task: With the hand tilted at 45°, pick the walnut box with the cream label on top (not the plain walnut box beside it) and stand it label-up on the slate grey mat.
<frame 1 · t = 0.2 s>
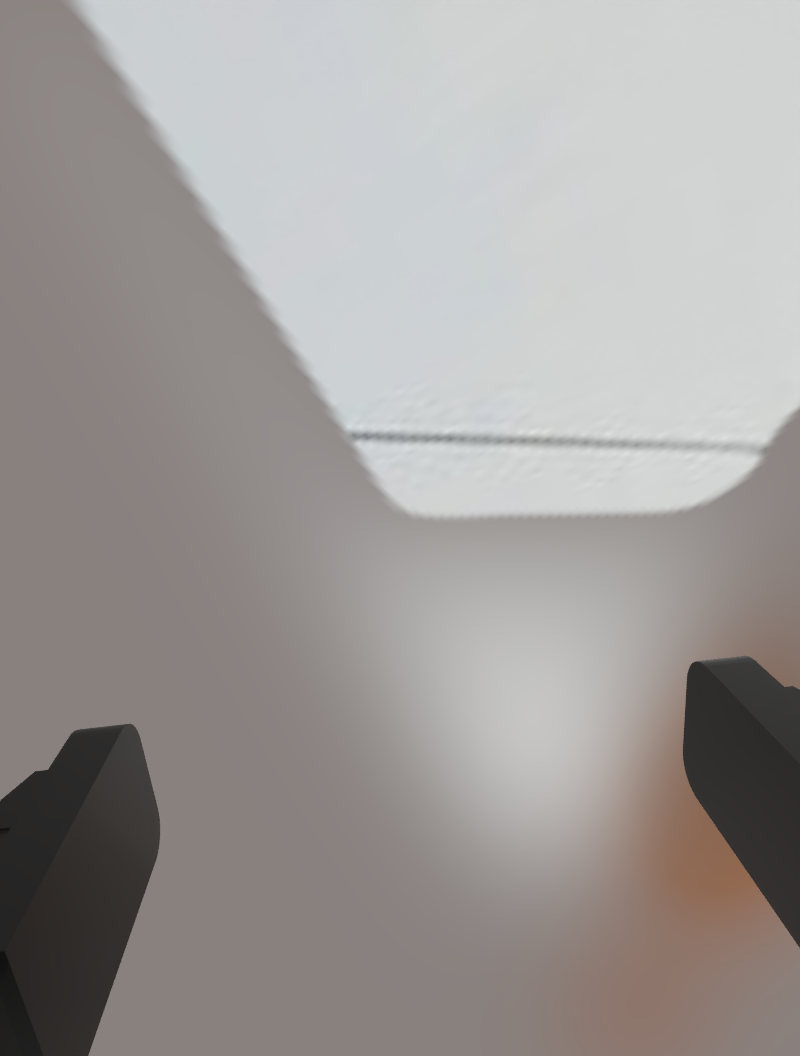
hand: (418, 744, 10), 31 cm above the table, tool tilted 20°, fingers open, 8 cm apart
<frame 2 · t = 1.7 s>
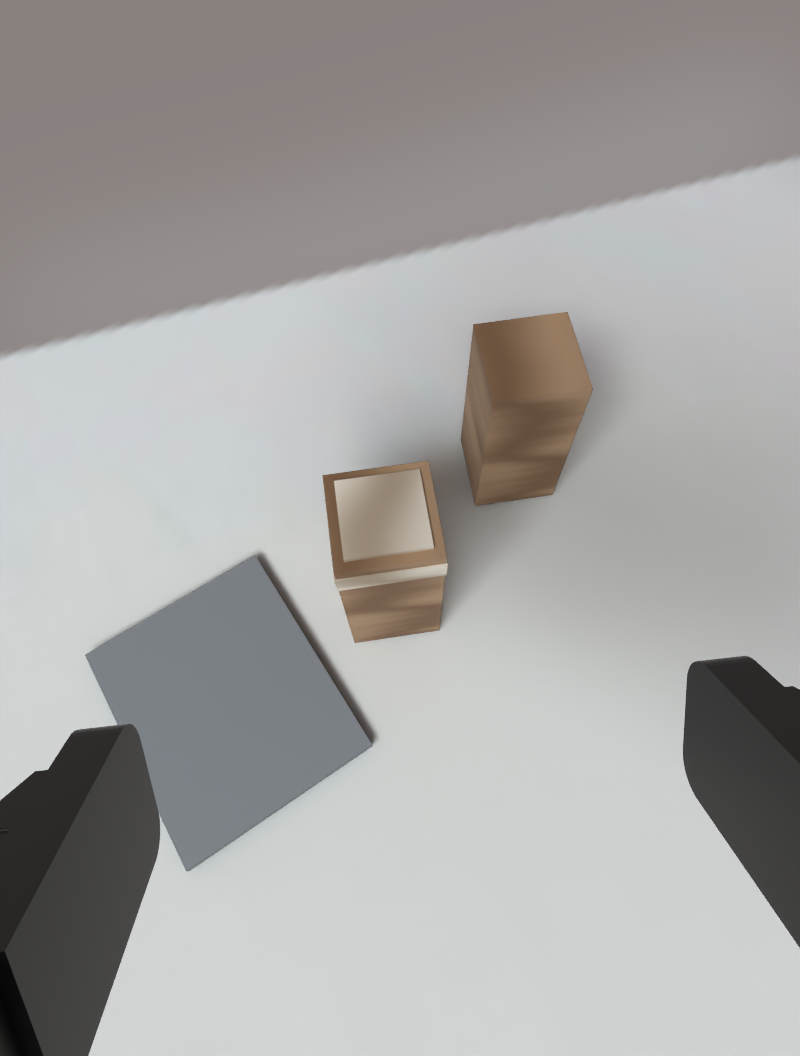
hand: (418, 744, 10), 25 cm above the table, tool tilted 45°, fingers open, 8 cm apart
slate mat: (226, 700, 35), on the table
label box: (391, 596, 37), on the table
plain box: (505, 466, 40), on the table
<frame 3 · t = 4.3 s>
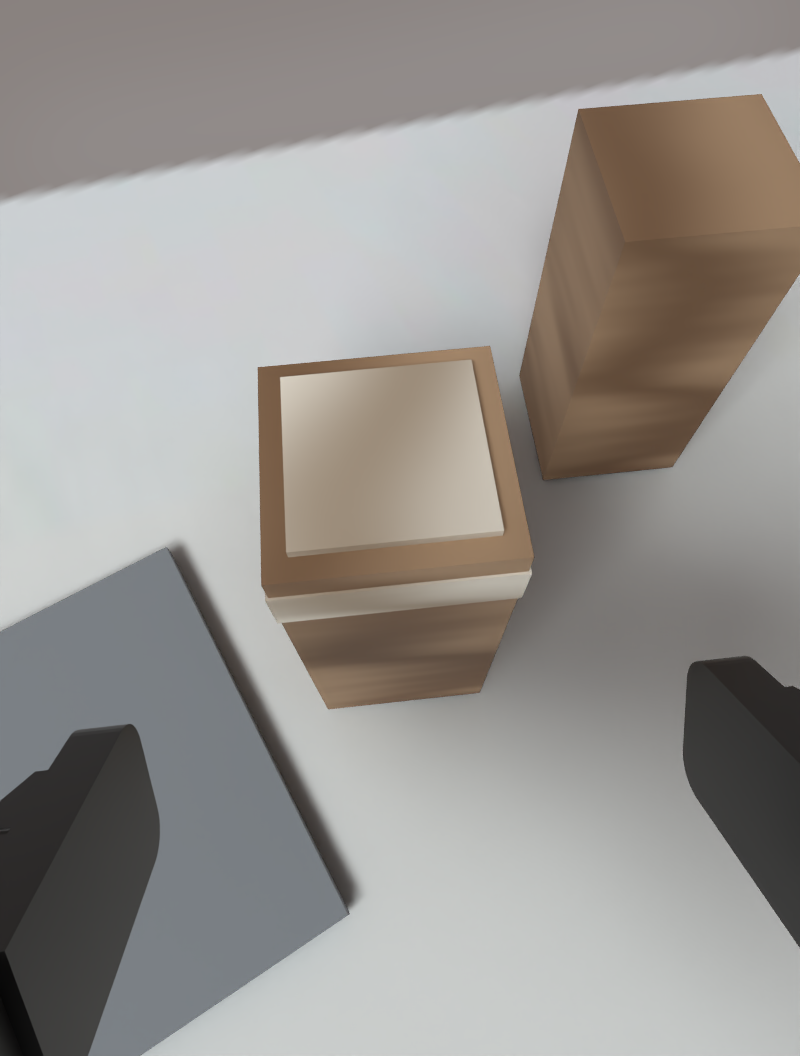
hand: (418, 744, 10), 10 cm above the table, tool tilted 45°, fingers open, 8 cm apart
slate mat: (87, 807, 19), on the table
label box: (396, 628, 21), on the table
plain box: (592, 419, 24), on the table
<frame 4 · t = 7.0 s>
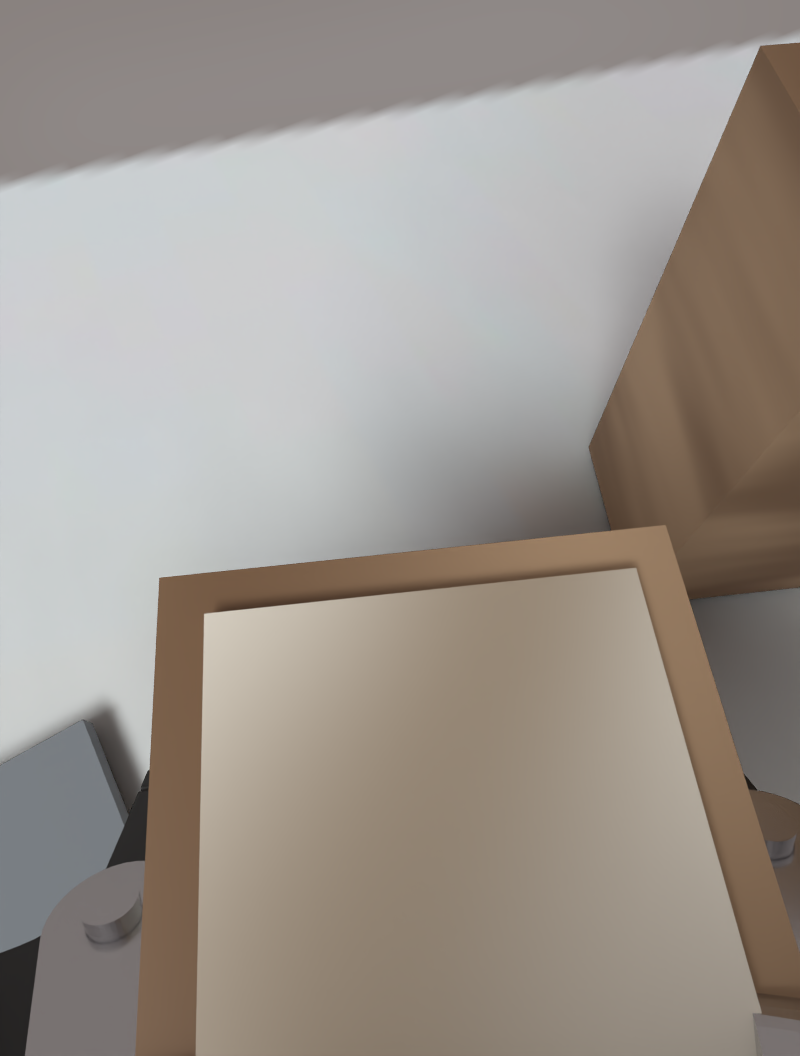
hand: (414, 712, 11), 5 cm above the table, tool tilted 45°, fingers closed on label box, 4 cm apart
label box: (425, 850, 14), on the table, touching gripper
plain box: (696, 512, 17), on the table
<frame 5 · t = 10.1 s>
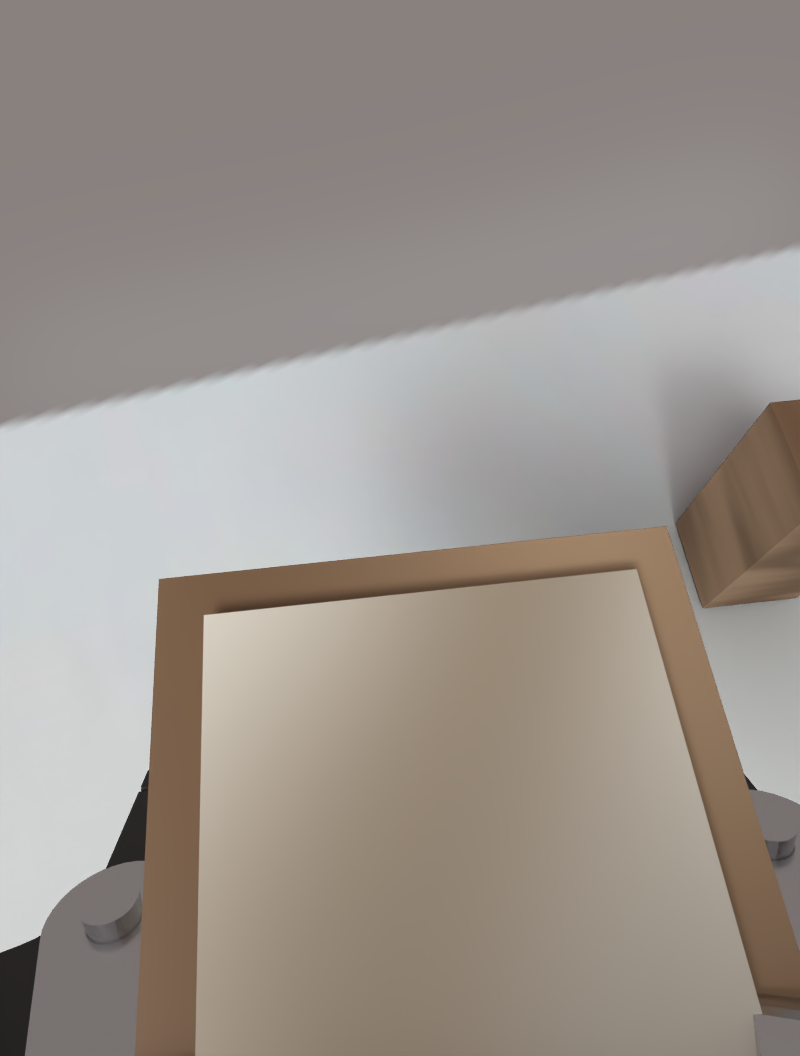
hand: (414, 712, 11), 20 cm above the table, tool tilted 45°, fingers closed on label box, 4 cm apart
label box: (425, 850, 14), point 15 cm above the table, touching gripper
plain box: (734, 559, 33), on the table
when the fingers open (7 cm above the table, at t = 13.3 s): label box drops 1 cm, resting on slate mat.
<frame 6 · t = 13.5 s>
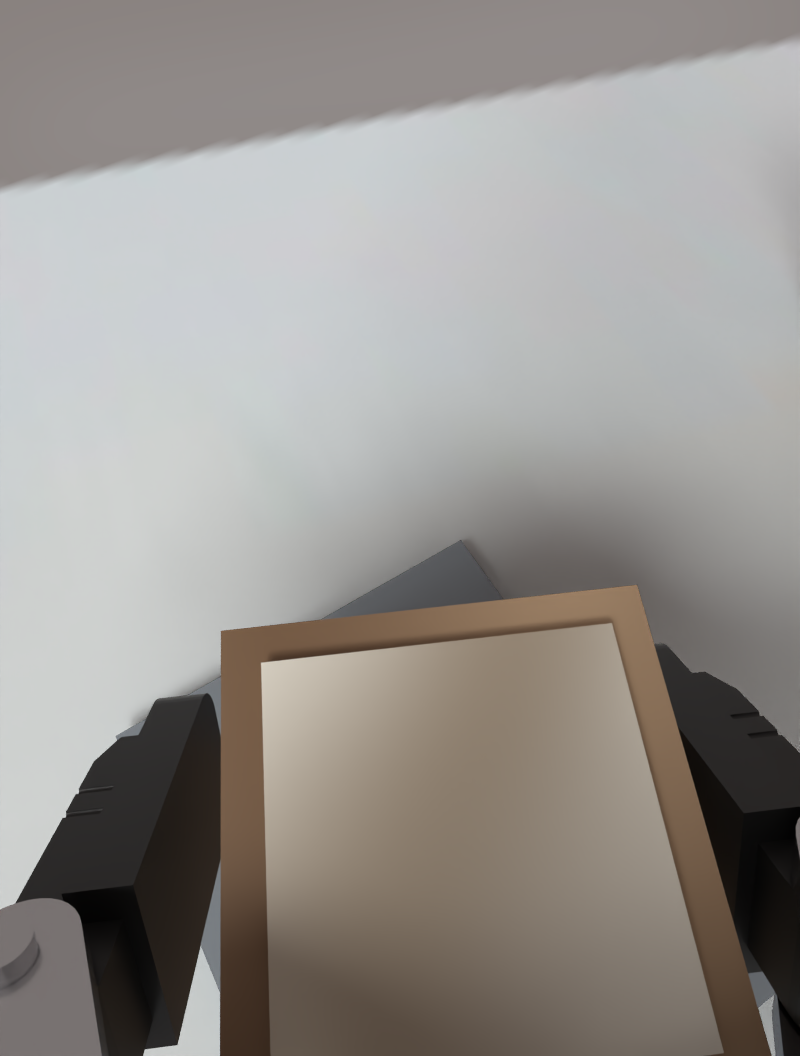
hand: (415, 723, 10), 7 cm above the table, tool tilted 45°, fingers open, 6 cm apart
slate mat: (422, 852, 16), on the table
label box: (430, 851, 15), point 1 cm above the table, touching slate mat
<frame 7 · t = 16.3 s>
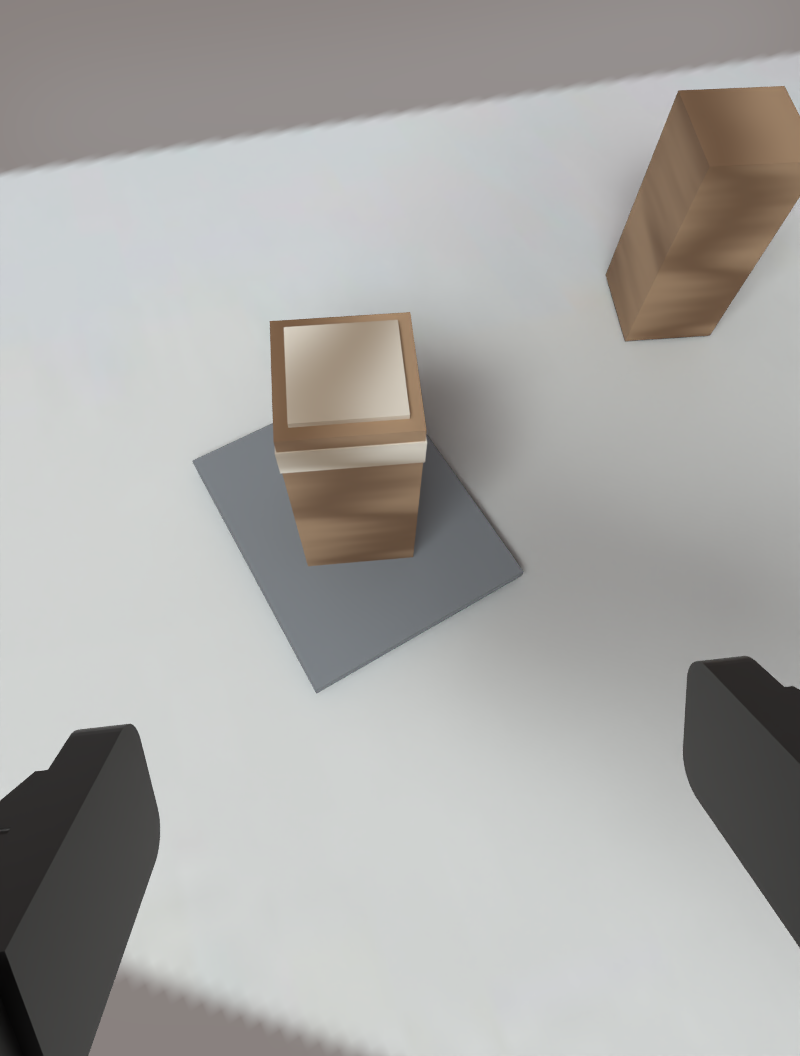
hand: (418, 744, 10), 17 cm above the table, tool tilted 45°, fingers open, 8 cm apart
slate mat: (353, 519, 31), on the table
label box: (356, 514, 30), resting on slate mat
plain box: (656, 304, 36), on the table
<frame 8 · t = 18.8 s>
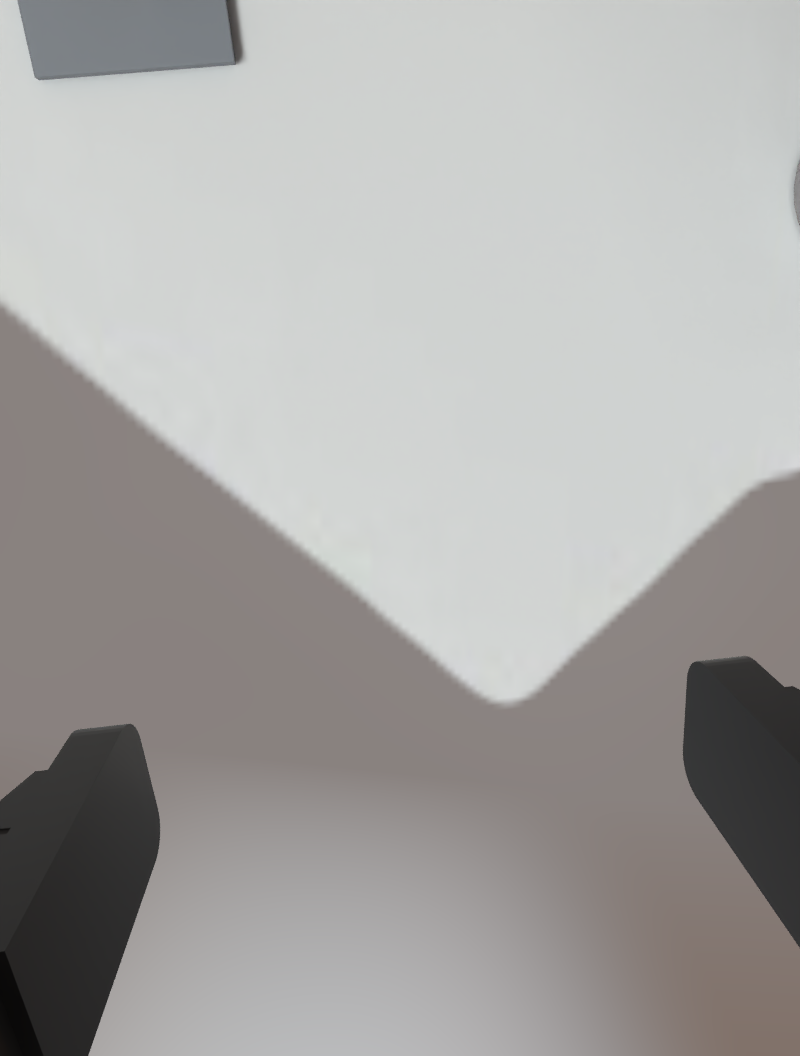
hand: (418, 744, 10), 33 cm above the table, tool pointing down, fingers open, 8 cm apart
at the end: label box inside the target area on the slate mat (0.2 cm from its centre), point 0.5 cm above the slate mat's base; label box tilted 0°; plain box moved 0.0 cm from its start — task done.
